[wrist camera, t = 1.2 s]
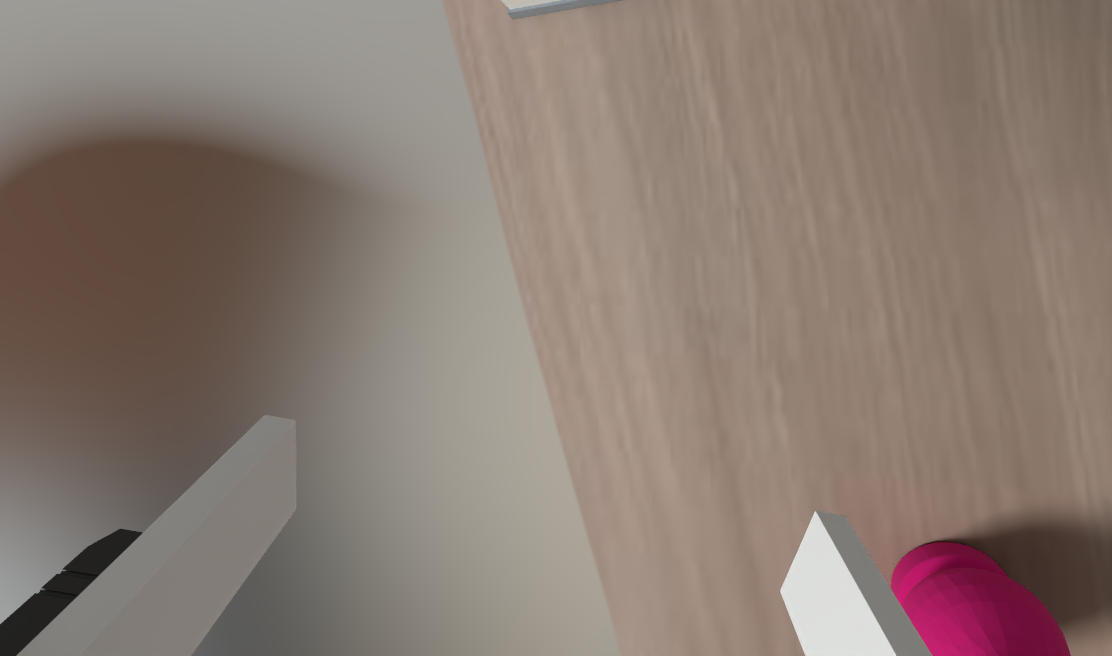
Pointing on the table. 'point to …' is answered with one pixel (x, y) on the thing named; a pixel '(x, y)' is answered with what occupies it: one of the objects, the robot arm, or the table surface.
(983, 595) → the pepper mill
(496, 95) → the table surface
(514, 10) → the low tray
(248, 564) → the robot arm
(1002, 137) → the table surface
